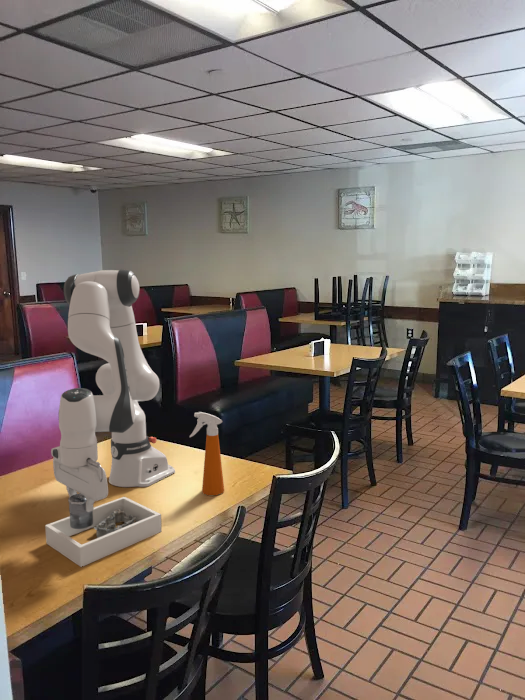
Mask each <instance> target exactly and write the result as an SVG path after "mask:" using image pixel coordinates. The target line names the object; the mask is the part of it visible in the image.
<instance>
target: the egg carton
mask: <svg viewBox="0 0 525 700" xmlns="http://www.w3.org/2000/svg"><path fill="white" fill-rule="evenodd" d="M135 518H137V517H135V516H133V517H132V516H131V515H129V517H128V516H126V514H125V512H123V511H120V510H119V509H117V510H115V511H113V512H112V513H111V515H110V516H109V517H107V518H106V519H105V520H104V521H102V522H100V523H99V524H98V525H97V526H95V527H92V528H93V529H94V530H96V538H99V537H102V536H104V535H107V534H109V533H111V532H114V531H116V530H119V529H121V528H124V527H126V526H128V525H131V524H133V523H136V521H135V520H134V519H135ZM122 522H123V524H119V525H116V523H122Z"/></svg>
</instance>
